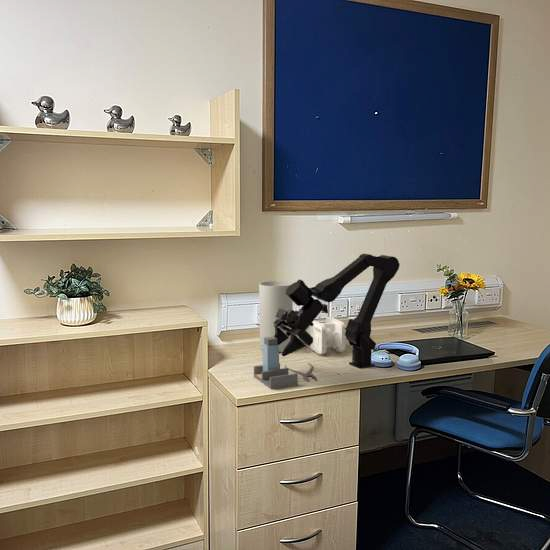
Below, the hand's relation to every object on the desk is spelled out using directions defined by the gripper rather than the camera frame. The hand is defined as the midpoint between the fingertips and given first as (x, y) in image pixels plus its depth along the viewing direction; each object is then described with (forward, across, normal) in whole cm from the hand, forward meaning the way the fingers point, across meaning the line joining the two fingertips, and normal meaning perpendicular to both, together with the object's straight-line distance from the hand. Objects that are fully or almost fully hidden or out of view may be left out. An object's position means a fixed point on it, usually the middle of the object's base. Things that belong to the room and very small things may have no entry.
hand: (276, 352), depth 197 cm
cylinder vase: (-4, -32, +16) cm, 37 cm away
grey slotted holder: (+7, +3, +4) cm, 9 cm away
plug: (+6, 0, +4) cm, 7 cm away
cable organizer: (-15, -22, +27) cm, 38 cm away
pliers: (-2, -1, +15) cm, 15 cm away
